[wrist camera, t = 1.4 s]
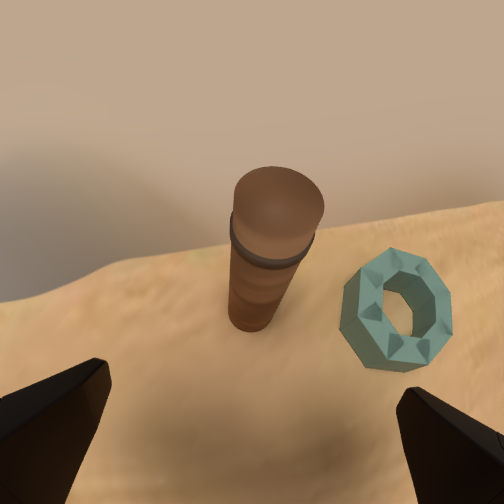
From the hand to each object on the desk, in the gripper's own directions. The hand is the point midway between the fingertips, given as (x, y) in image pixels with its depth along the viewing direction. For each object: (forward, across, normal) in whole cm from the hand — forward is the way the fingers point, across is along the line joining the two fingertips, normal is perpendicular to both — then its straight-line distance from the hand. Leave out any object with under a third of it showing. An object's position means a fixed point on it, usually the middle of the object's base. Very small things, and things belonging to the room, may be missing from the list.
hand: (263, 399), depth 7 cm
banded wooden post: (+14, 0, +4) cm, 15 cm away
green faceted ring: (+14, -12, +4) cm, 19 cm away
